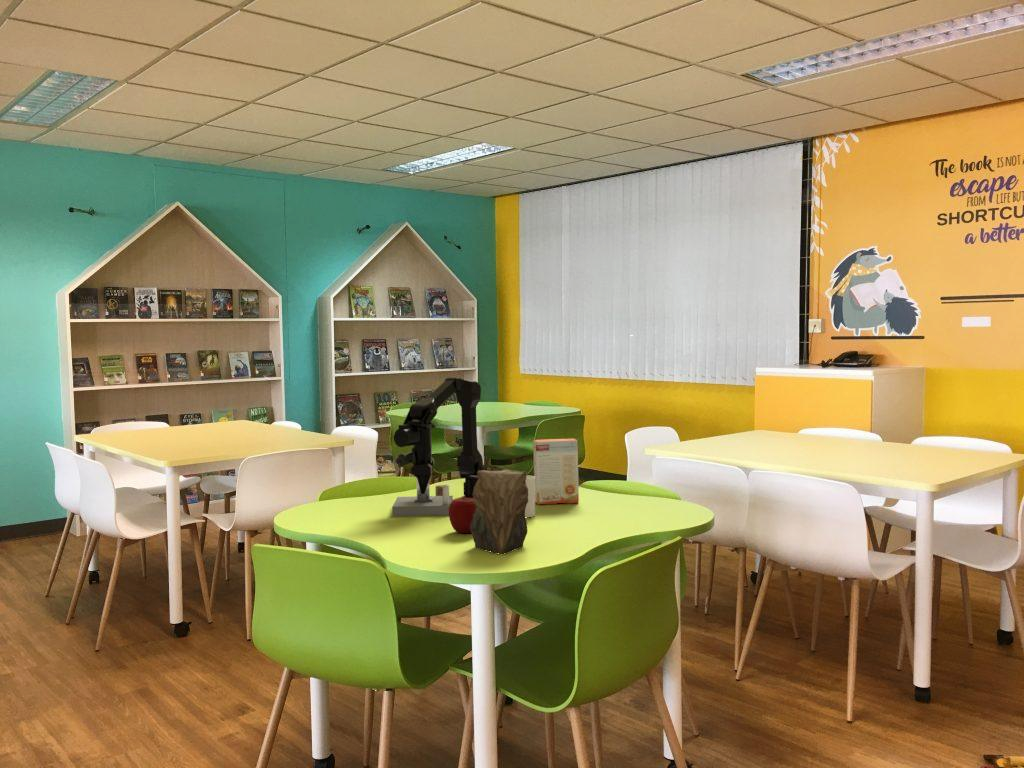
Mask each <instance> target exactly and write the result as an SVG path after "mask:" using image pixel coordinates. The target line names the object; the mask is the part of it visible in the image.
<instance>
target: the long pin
mask: <svg viewBox="0 0 1024 768" xmlns="http://www.w3.org/2000/svg"><path fill="white" fill-rule="evenodd" d="M415 479H416V496H417V499H418V500H427V499H430V496H431V495H430V494H431V493H430V481H429V482H428V485H427V488H426V491H425V493H424V494H421V491H420V487H419V483H418V479H417V477H416V478H415Z"/></svg>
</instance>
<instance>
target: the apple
mask: <svg viewBox="0 0 1024 768" xmlns="http://www.w3.org/2000/svg"><path fill="white" fill-rule="evenodd" d="M476 509H477V508H476V506H475V504H474V502H473V497H472V498H465V497H464V496H461V497H459V498H453V501H452V502H451V503H450V505H449V515H448V518H449V521H450V524H451V527H452V529H453V530H454V531H455V532H456V533H460V534H469V533H472V532H471V529H470V525H471V522H472V519H473V515H474V513H475V510H476Z"/></svg>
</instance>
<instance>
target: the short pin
mask: <svg viewBox="0 0 1024 768" xmlns="http://www.w3.org/2000/svg"><path fill="white" fill-rule="evenodd" d="M443 485H444V484H440V485H439V484H438V485H436V486H435V488H434V489H435V491H434V492H435V496H443Z"/></svg>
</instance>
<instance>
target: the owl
mask: <svg viewBox="0 0 1024 768" xmlns="http://www.w3.org/2000/svg"><path fill="white" fill-rule="evenodd" d="M477 475H478V481H477V483H476V485H475V487H474V491H473V497H472V498H473V502H474V504H475V506H476V508H477V509H476V510H475V513H474V515H473V519H472V522H471V525H470V529H471V532H470V533H471V536H472V540H473V542H474V548H475V547H476V548H475V549H477V548H480V549H479V550H482V549H483V550H482V551H484V550H487V551H486V552H488V551H491V552H493V553H492V554H494V553H499V554H504V553H506V554H508V553H507V552H509V553H511V552H513V551H515V550H514V549H517V548H518V549H520V548H519V547H521V548H523V547H524V546H523V545H524V542H525V540H526V537H527V535H528V523H527V518H525V509H526V505H527V503H528V488H527V486H526V482H525V481H526V475H527V470H523V471H519V470H514V469H510V468H508V469H507V468H505V469H502V470H493V471H492V470H488V471H486V470H481V471H480V470H479V471H477ZM522 546H523V547H522ZM518 549H517V550H518ZM512 550H513V551H512ZM510 551H511V552H510ZM491 552H490V553H491ZM499 554H498V555H499ZM504 555H505V554H504Z"/></svg>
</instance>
